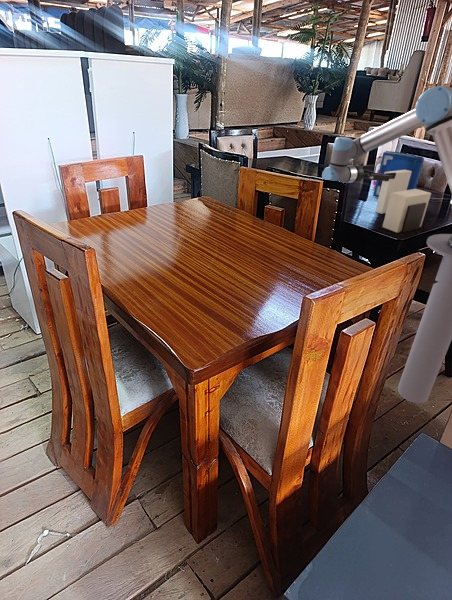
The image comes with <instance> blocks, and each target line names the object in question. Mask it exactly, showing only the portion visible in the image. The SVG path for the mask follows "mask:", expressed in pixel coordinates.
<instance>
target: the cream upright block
mask: <svg viewBox="0 0 452 600" xmlns="http://www.w3.org/2000/svg"><path fill="white" fill-rule="evenodd" d="M431 195H432V192H430V191H425V190H422V189H418V188H415V189H411V190H405V191H399V192H392V193H391V195H390V199H389V203H388V207H387V211H386V213H385V215H384V219H383V223H382V228H384V229H386V230H389V231H392V232H394V233H406V232H409V231H414V230H419V229H420V228H421V227H422V225H423V222H424V220H425V219H424V218H425V216H426V212H427V210H428V209H427V208H428V206H429V201H430V199H431Z"/></svg>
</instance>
